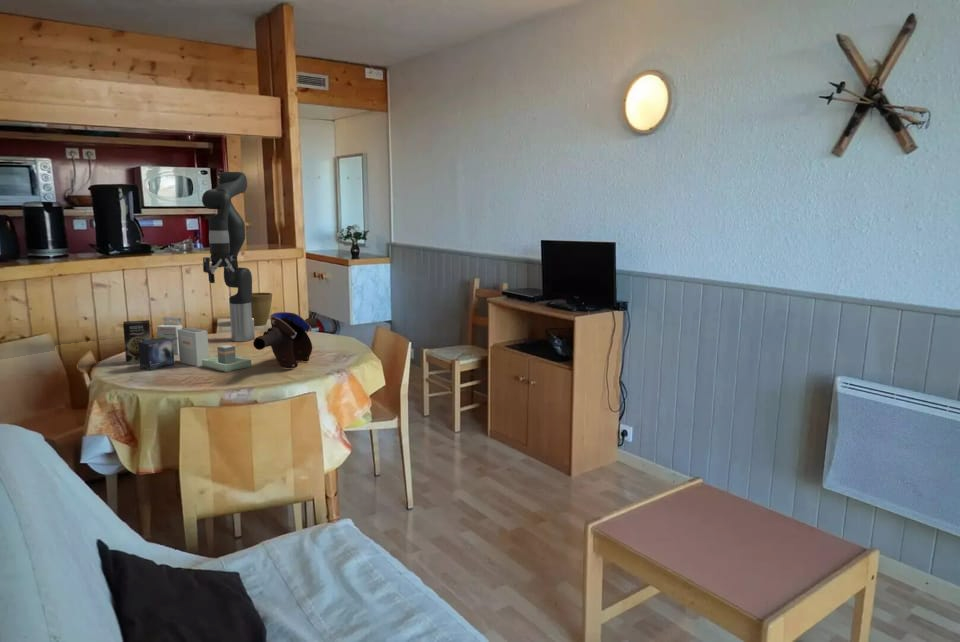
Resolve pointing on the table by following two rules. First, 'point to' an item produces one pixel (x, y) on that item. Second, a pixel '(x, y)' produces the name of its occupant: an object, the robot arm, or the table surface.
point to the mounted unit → (193, 346)
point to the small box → (156, 353)
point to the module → (226, 354)
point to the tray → (215, 365)
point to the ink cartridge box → (170, 331)
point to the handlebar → (288, 338)
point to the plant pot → (260, 307)
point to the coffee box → (135, 339)
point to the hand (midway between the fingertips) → (221, 282)
